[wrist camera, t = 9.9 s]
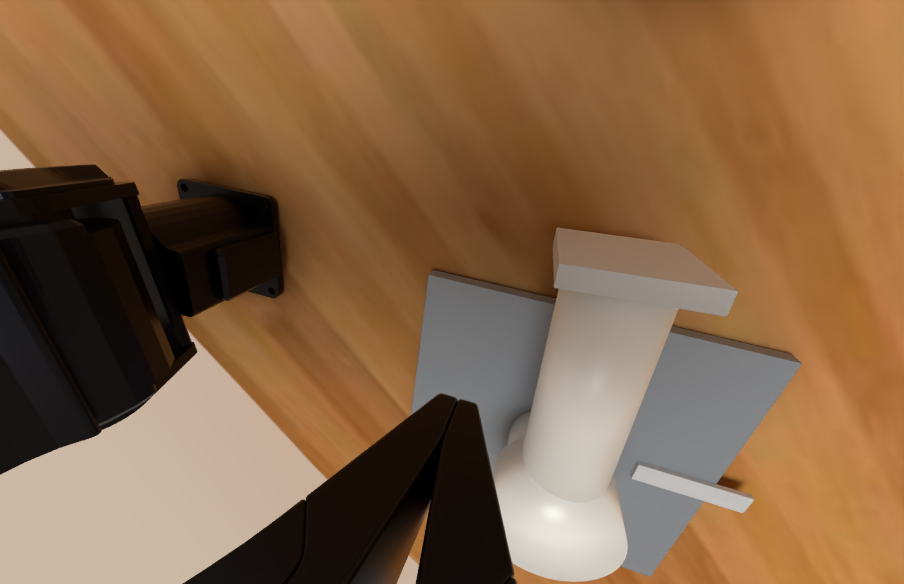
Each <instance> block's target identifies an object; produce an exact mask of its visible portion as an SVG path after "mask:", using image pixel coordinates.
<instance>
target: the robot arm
mask: <svg viewBox="0 0 904 584" xmlns="http://www.w3.org/2000/svg"><path fill="white" fill-rule="evenodd" d="M177 187H178V192H179V197H180V200H174V201H168V202H162V203H156V204H150V205H144V206H141V205H140V202H139V199H138V197H137V195H139V192H138V190H137V187H136V184H135V182H114V180H113V179H112V178H111V177H108V176H107V175H106V174H105V173H104V172H103V171H102V170H101V169H100V168H98V167H97V166H96V165H72V166H55V167H39V168H25V169H13V170H1V171H0V474H2V473H4V472H6V471H8V470H10V469H12V468H15V467H16V466H19V465H20V464H23V463H24V462H27V461H29V460H31V459H34V458H36V457H39V456H41V455H44V454H46V453H48V452H51V451H53V450H56V449H58V448H60V447H63V446H67V445H70V444H73V443H76V442H79V441H82V440H86V439H89V438H92V437H94V436H96V435H98V434H99V433H100V432H101V430H103V429H105V428H107V427H110V426H112V425H114V424H116V423H117V422H119V421H121V420H123V419H125V418H126V417H128V416H129V415H131V414H132V413H134V412H135V411H137V410H138V409H139V408H140V407H141V406H143V405H144V404H145V403H146V402H147V401H148V400H149V399H150V398H151V397H152V396H153V395H154V394H155V393H156V392H157V391H158V390H159V389H160V388H161V387H162V386H163V385H164V384H165V383H166V382H167V381H168V380H169V379H171V378H172V377H173V375H175V374H176V373H177V372H178V371H179V370H180V369H181V368H182V367H183V366H184V365H185V364H186V363H187V362H188V361H189V360H190V359H191V358H192V357H193V356H194V355H195V354H196V353H197V349H196V347H195V344H194V342H191V339H190V336H189V334H188V331H187V328H186V326H185V323H184V320H183V318H182V317H183V316H188V317H193V316H195V315H197V314H199V313H201V312H203V311H205V310H207V309H209V308H211V307H213V306H215V305H217V304H219V303H221V302H223V301H225V300H226V301H229V300H232V299H234V298H235V297H237V296H239V295H241V294H243V293H245V292H247V291H249V292H252V293H256V294H260V295H263V296H267V297H271V298H276V297H278V296H280V295H281V294H282V292H283V287H282V273H281V260H280V247H279V233H278V220H277V206H276V202H275V201H274V199H273V198H272V197H270V196H267V195H263V194H258V193H253V192H249V191H244V190H239V189H235V188H230V187H226V186H221V185H216V184H212V183H207V182H202V181H198V180H193V179H180V180H179V181H178V183H177ZM187 187H188V188H187ZM265 202H266V203H267V205H268V208H267V207H266V205H265ZM273 289H274V290H275V291H274V290H273ZM429 505H430V508H429ZM428 508H429V513H428V519H427V524H426V530H425V535H424V541H423V546H422V552H421V557H420V563H419V569H418V574H417V580H416V584H517V582H516V580H515V579H514V578H513V576H514V570H513V565H512V560H511V556H510V551H509V547H508V542H507V537H506V533H505V528H504V524H503V519H502V514H501V510H500V505H499V501H498V496H497V491H496V487H495V482H494V478H493V473H492V468H491V464H490V459H489V455H488V450H487V445H486V441H485V436H484V432H483V427H482V422H481V418H480V413H479V409H478V406H477V404H476V403H473V402H470V401H467V400H463V399H459V400H457V398H456V397H453V396H450V395H446V394H443V393H440V394H438V395H436V396H435V397H434V398H432V399H431V400H430V401H429V402H427V403H426V404H425V405H423V406H422V407H421V408H420V409H418V410H417V411H416V412H414V413H413V414H412V415H411V416H409V417H408V418H407V419H405V420H404V421H403V422H402V423H400V424H399V425H398V426H396V427H395V428H394V429H393V430H391V431H390V432H389V433H387V434H386V435H385V436H384V437H382V438H381V439H380V440H378V441H377V442H376V443H375V444H373V445H372V446H371V447H369V448H368V449H367V450H366V451H364V452H363V453H362V454H360V455H359V456H358V457H357V458H355V459H354V460H353V461H351V462H350V463H349V464H348V465H346V466H345V467H344V468H342V469H341V470H340V471H339V472H337V473H336V474H335V475H333V476H332V477H331V478H330V479H328V480H327V481H326V482H324V483H323V484H322V485H320V486H319V487H318V488H317V489H315V490H314V491H313V492H311V493H310V494H309V495H308V496H307V497H306V501H305V500H301V501H300V502H298V503H297V504H296V505H294V506H293V507H292V508H291V509H289V510H288V511H287V512H286V513H284V514H283V515H282V516H280V517H279V518H278V519H276V520H275V521H274V522H272V523H271V524H270V525H268V526H267V527H266V528H264V529H263V530H261V531H260V532H259V533H257V534H256V535H255V536H253V537H252V538H251V539H249V540H248V541H246V542H245V543H244V544H242V545H240V546H239V547H238V548H236V549H235V550H233V551H232V552H230V553H229V554H227V555H226V556H224V557H223V558H221V559H220V560H218V561H217V562H215V563H214V564H212V565H211V566H209V567H208V568H206V569H205V570H203V571H202V572H200V573H199V574H197V575H195V576H194V577H193V578H191V579H189V580H188V581H186V582H185V583H183V584H396V583H397V581H398V578H399V576H400V574H401V572H402V569H403V567H404V564H405V562H406V560H407V558H408V555H409V553H410V551H411V548H412V546H413V544H414V541H415V539H416V537H417V534H418V532H419V530H420V527H421V525H422V523H423V520H424V518H425V515H426V513H427V510H428Z"/></svg>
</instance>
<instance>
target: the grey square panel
mask: <svg viewBox="0 0 904 584" xmlns="http://www.w3.org/2000/svg"><path fill="white" fill-rule="evenodd" d="M555 303H556V299H555V298H551V297H547V296H542V295H538V294H534V293H530V292H525V291H521V290H517V289H513V288H508V287H504V286H500V285H496V284H491V283H487V282H483V281H479V280H474V279H470V278H466V277H461V276H457V275H453V274H449V273H444V272H440V271H436V270H432V272H431V273H430V274H429V276H428V284H427V292H426V300H425V308H424V316H423V324H422V332H421V340H420V349H419V357H418V365H417V373H416V381H415V389H414V397H413V405H412V413H411V415H412V414H413V413H414V412H416V411H417V410H418V409H420V408H421V407H422V406H423V405H425V404H426V403H427V402H429V401H430V400H431V399H432V398H434V397H435V396H436V395H438V394H440V393H443V394H446V395H450V396H453V397H456V398H457V400H459V399H463V400H467V401H470V402H473V403H476V404H477V406H478V409H479V413H480V418H481V422H482V427H483V432H484V436H485V441H486V445H487V450H488V455H489V459H490V464H491V468H492V471H493V465H494V461H495V459H496V457H497V455H498V454H499V452H500V451H501V450H502V449H503V448H504V447H505V446H507V445H508V444H510V443H511V442H513V441H515V440H518V439H521V438H524V437H525V435H526V430H527V426H528V422H529V417H530V413H531V408H532V404H533V400H534V395H535V391H536V386H537V382H538V378H539V373H540V369H541V364H542V360H543V356H544V351H545V347H546V342H547V338H548V334H549V329H550V325H551V320H552V316H553V312H554V307H555ZM801 365H802V363H801V362H800V361H799V360H798V359H797V358H795V357H794V356H793V355H792V354H789V353H785V352H781V351H777V350H772V349H768V348H764V347H760V346H755V345H751V344H747V343H743V342H738V341H734V340H730V339H726V338H721V337H717V336H713V335H709V334H704V333H700V332H696V331H691V330H687V329H683V328H679V327H674V326H672V327H671V329H670V332H669V335H668V337H667V340H666V342H665V345H664V347H663V350H662V352H661V355H660V357H659V360H658V362H657V365H656V367H655V370H654V372H653V375H652V377H651V380H650V382H649V385H648V388H647V390H646V393H645V395H644V398H643V400H642V403H641V405H640V408H639V410H638V413H637V415H636V418H635V420H634V423H633V425H632V428H631V430H630V433H629V436H628V438H627V441H626V443H625V446H624V448H623V451H622V453H621V456H620V458H619V461H618V463H617V466H616V468H615V471H614V473H613V474H614V477H615V480H616V485H617V490H618V495H619V501H620V506H621V511H622V516H623V522H624V527H625V532H626V537H627V544H628V550H627V555H626V558H625V560H624V562H623V563H622V565H621V567H624V568H627V569H629V570H632V571H635V572H638V573H641V574H644V575H647V576H649V577H650V576H651V575H652V573H653V572H654V570H655V569H656V568H657V566H658V565H659V563H660V562H661V561H662V559H663V558H664V556H665V555H666V554H667V552H668V551H669V549H670V548H671V547H672V545H673V544H674V542H675V541H676V540H677V538H678V537H679V535H680V534H681V533H682V531H683V530H684V528H685V527H686V526H687V524H688V523H689V521H690V520H691V519H692V517H693V516H694V514H695V513H696V512H697V510H698V509H699V507H700V506H701V505H702V503H703V502H704V501H705V502H708V503H712V504H715V505H718V506H721V507H725V508H728V509H731V510H734V511H738V512H741V513H744V512H745V511H746V509H747V508H748V507H749V506H750V504H751V503H752V502H753V501H754V498H753V496H752V495H751V494H748V493H744V492H741V491H738V490H734V489H731V488H728V487H724V486H721V485H718V484H717V482H718V481H719V479H720V478H721V477H722V475H723V474H724V472H725V471H726V470H727V468H728V467H729V465H730V464H731V463H732V461H733V460H734V458H735V457H736V456H737V454H738V453H739V451H740V450H741V449H742V447H743V446H744V444H745V443H746V442H747V440H748V439H749V437H750V436H751V435H752V433H753V432H754V430H755V429H756V428H757V426H758V425H759V423H760V422H761V421H762V419H763V418H764V416H765V415H766V414H767V412H768V411H769V409H770V408H771V407H772V405H773V404H774V402H775V401H776V400H777V398H778V397H779V395H780V394H781V393H782V391H783V390H784V388H785V387H786V386H787V384H788V383H789V381H790V380H791V379H792V377H793V376H794V374H795V373H796V372H797V370H798V369H799V367H800V366H801Z"/></svg>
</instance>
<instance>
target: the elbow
mask: <svg viewBox="0 0 904 584" xmlns="http://www.w3.org/2000/svg"><path fill="white" fill-rule="evenodd" d="M553 273H554V288H558V289H559V290H558V294H557V298H556V303H555V307H554V312H553V316H552V320H551V325H550V329H549V334H548V338H547V342H546V347H545V351H544V356H543V360H542V364H541V369H540V373H539V378H538V382H537V386H536V391H535V395H534V400H533V404H532V408H531V413H530V417H529V422H528V426H527V430H526V435H525V437H524V438H521V439H518V440H515V441H513V442H511V443H510V444H508V445H507V446H505V447H504V448H503V449H502V450H501V451H500V452H499V454H498V455H497V457H496V459H495V461H494V465H493V471H492V473H493V478H494V482H495V487H496V491H497V496H498V501H499V505H500V510H501V514H502V519H503V524H504V528H505V533H506V537H507V542H508V547H509V551H510V556H511V560H512V563H514V564H515V565H517V566H519V567H520V568H522V569H524V570H526V571H529V572H531V573H533V574H536V575H539V576H542V577H546V578H549V579H554V580H560V581H572V582H578V581H590V580H595V579H599V578H602V577H604V576H607V575H609V574H611V573H612V572H614V571H615V570H617V569H618V568H619V567H620V566H621V565H622V563H623V562H624V560H625V558H626V555H627V550H628V544H627V537H626V532H625V527H624V522H623V516H622V511H621V506H620V501H619V495H618V490H617V485H616V480H615V477H614V474H613V473H614V471H615V468H616V466H617V463H618V461H619V458H620V456H621V453H622V451H623V448H624V446H625V443H626V441H627V438H628V436H629V433H630V430H631V428H632V425H633V423H634V420H635V418H636V415H637V413H638V410H639V408H640V405H641V403H642V400H643V398H644V395H645V393H646V390H647V388H648V385H649V382H650V380H651V377H652V375H653V372H654V370H655V367H656V365H657V362H658V360H659V357H660V355H661V352H662V350H663V347H664V345H665V342H666V340H667V337H668V335H669V332H670V329H671V327H672V324H673V322H674V319H675V317H676V314H677V312H678V309H683V310H689V311H695V312H701V313H707V314H713V315H719V316H725V317H727V315H728V313H729V311H730V309H731V307H732V304H733V302H734V300H735V298H736V296H737V294H738V290H736V289H735V288H734V287H733V286H732V285H730V284H729V283H728V282H727V281H725V280H724V279H723V278H722V277H720V276H719V275H718V274H717V273H716V272H714V271H713V270H712V269H711V268H709V267H708V266H707V265H706V264H705V263H703V262H702V261H701V260H700V259H698V258H697V257H696V256H695V255H694V254H692V253H691V252H690V251H689V250H687V249H686V248H685V247H684V246H682V245H681V244H676V243H668V242H661V241H654V240H646V239H639V238H631V237H624V236H617V235H609V234H602V233H594V232H587V231H580V230H572V229H565V228H556V233H555V238H554V243H553Z"/></svg>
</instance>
